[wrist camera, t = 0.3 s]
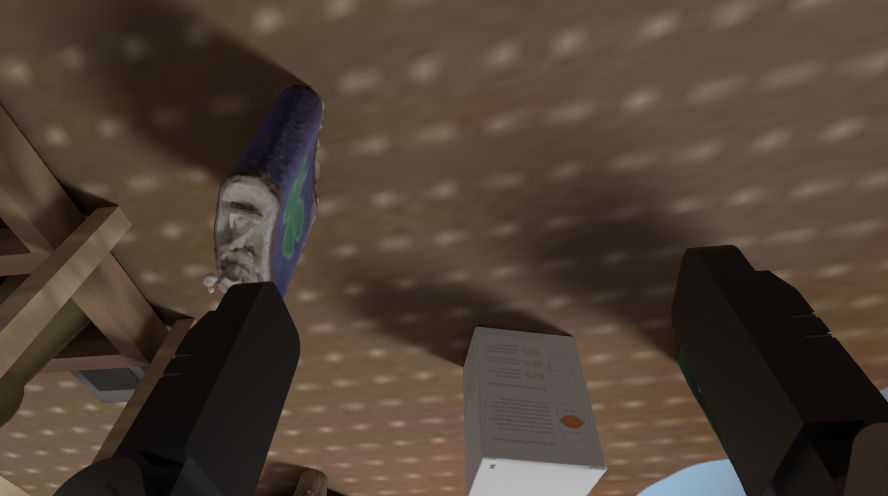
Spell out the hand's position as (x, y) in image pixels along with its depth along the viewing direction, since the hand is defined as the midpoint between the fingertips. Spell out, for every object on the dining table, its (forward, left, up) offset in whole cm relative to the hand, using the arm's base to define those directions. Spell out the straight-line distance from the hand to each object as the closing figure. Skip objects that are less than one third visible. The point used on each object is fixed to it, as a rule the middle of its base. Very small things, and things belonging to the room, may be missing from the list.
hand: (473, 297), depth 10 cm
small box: (+25, +2, -18) cm, 30 cm away
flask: (+6, -10, -18) cm, 21 cm away
